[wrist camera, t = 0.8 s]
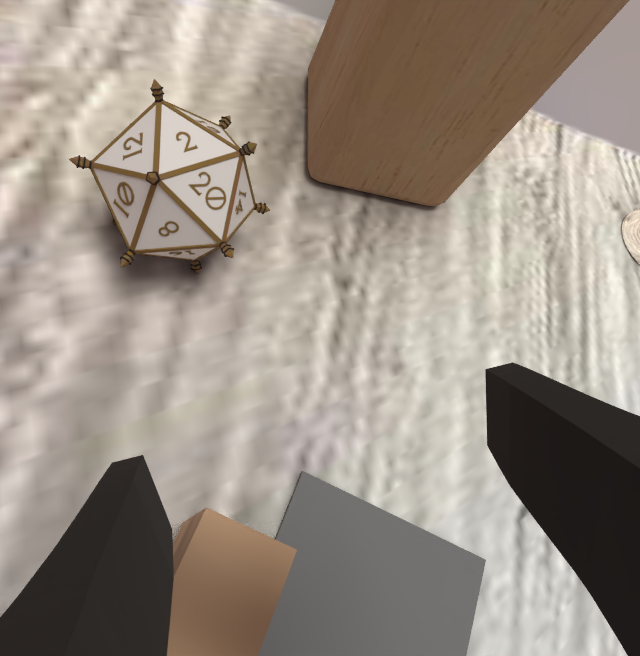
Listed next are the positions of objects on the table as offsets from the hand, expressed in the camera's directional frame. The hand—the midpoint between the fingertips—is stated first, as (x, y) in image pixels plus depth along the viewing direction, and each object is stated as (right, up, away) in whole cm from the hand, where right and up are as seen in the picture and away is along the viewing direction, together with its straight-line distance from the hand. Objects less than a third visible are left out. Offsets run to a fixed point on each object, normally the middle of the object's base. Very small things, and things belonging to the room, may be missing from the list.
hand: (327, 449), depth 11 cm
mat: (+1, -13, +14) cm, 19 cm away
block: (+3, +15, +27) cm, 32 cm away
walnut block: (-6, -9, +13) cm, 17 cm away
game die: (-8, +8, +20) cm, 23 cm away
